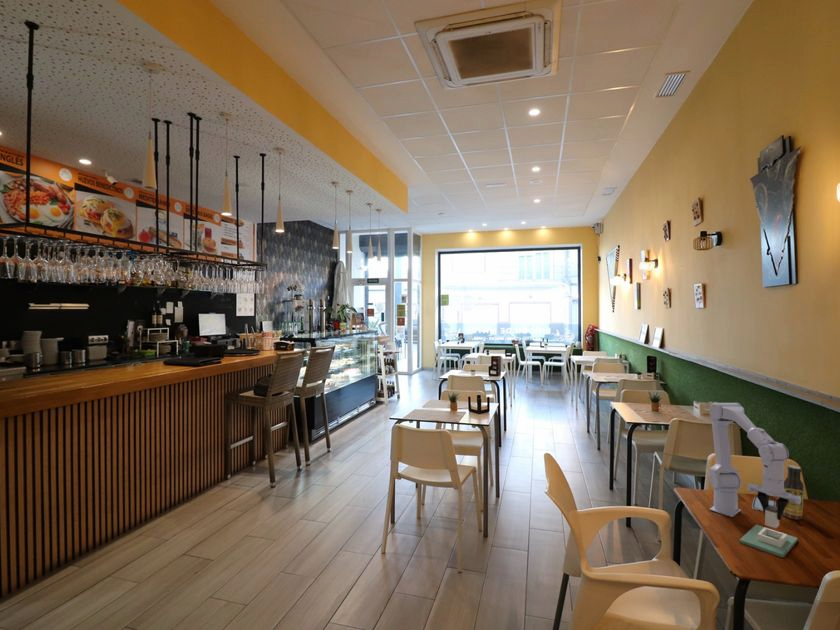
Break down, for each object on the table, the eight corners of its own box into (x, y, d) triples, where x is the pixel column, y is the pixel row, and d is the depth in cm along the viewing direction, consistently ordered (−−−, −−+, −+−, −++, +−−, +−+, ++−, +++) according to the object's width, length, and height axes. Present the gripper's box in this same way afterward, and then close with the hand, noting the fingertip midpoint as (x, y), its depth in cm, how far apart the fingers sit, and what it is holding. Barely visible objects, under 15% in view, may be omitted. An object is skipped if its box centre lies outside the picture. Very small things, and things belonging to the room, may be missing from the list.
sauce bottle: (783, 518, 170) (784, 467, 170) (779, 511, 176) (780, 462, 176) (805, 522, 167) (806, 470, 167) (800, 515, 173) (801, 465, 173)
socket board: (755, 527, 163) (756, 519, 163) (797, 540, 153) (797, 532, 153) (739, 542, 152) (739, 533, 152) (783, 557, 142) (783, 548, 142)
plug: (768, 521, 154) (768, 504, 154) (779, 524, 152) (779, 507, 152) (765, 524, 152) (765, 507, 152) (775, 528, 149) (776, 510, 149)
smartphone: (776, 501, 185) (774, 512, 174) (776, 503, 185) (774, 515, 174) (754, 496, 190) (751, 507, 179) (754, 498, 190) (751, 509, 179)
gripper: (744, 474, 155) (744, 512, 155) (797, 487, 144) (796, 528, 144) (751, 470, 160) (750, 507, 160) (802, 482, 148) (802, 522, 148)
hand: (772, 516), depth 152 cm, fingers closed on plug, 3 cm apart
